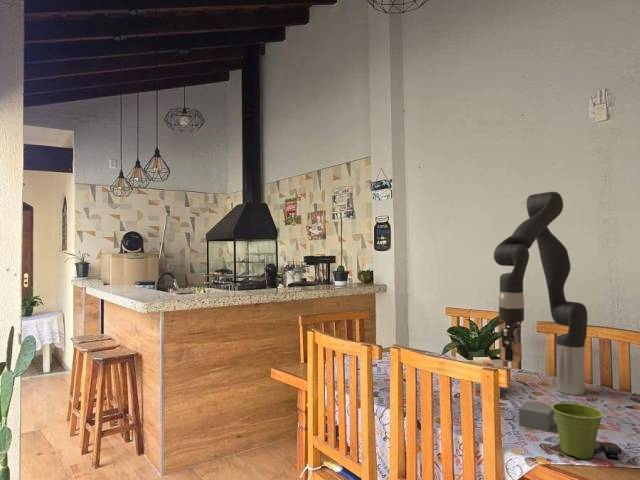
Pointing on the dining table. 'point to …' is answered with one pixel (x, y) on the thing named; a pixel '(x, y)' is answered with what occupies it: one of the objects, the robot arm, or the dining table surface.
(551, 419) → the grey base block
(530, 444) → the dining table surface
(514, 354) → the terracotta cube
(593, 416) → the plant pot
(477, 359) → the stack of blocks
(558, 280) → the robot arm
